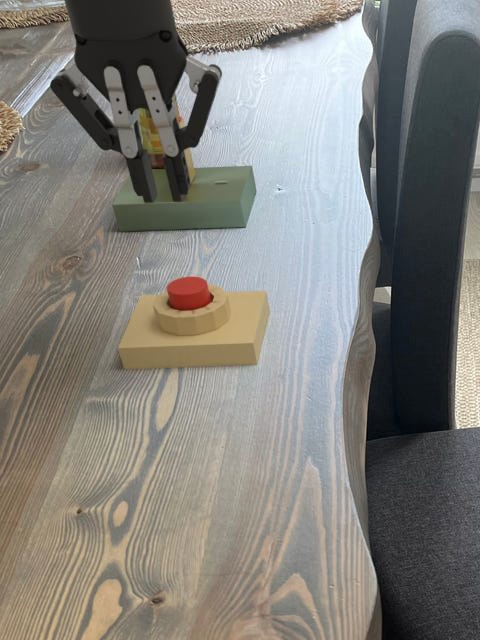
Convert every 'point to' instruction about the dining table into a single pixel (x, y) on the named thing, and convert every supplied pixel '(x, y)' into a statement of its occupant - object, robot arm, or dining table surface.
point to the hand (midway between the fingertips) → (165, 198)
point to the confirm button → (188, 293)
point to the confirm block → (196, 331)
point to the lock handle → (187, 153)
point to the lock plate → (190, 202)
